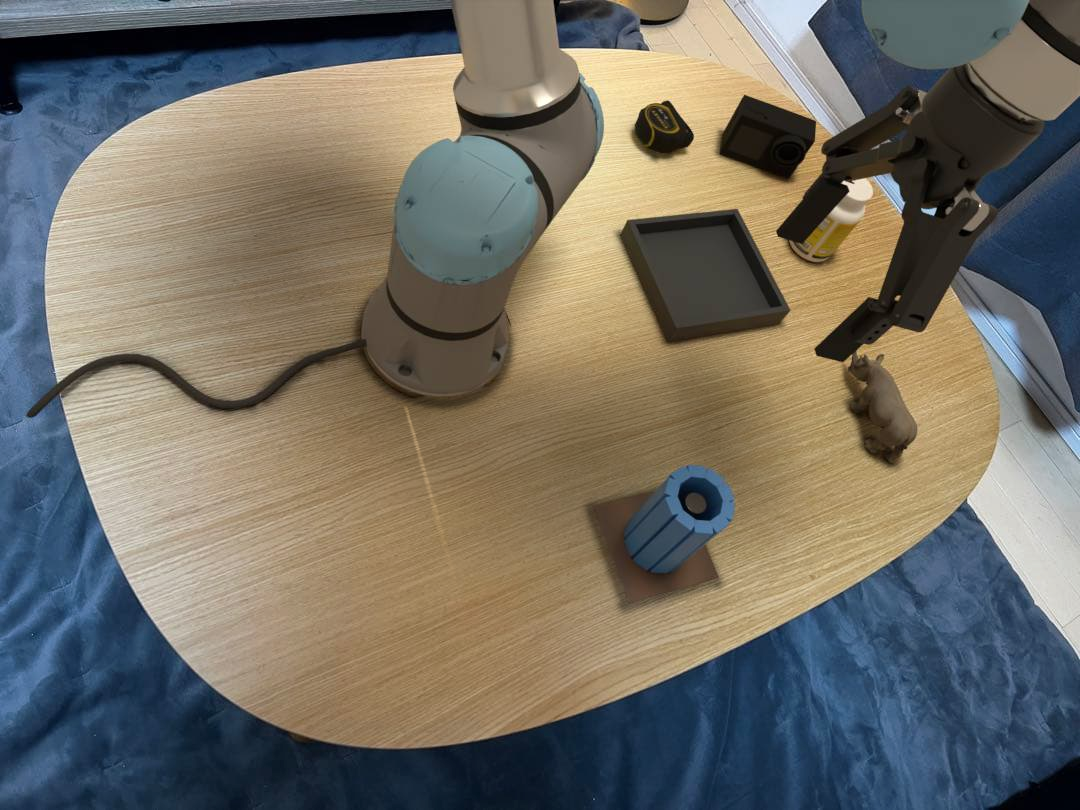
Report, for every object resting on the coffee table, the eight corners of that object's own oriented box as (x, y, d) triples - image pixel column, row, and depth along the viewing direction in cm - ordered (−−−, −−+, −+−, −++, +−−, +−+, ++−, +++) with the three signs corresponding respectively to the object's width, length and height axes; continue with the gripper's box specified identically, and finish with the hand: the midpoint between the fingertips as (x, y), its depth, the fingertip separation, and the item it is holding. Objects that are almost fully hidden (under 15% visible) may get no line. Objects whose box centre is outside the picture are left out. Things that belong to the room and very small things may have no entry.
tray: (667, 342, 97) (676, 328, 94) (619, 234, 103) (627, 219, 100) (779, 323, 102) (790, 310, 100) (727, 223, 108) (737, 208, 106)
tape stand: (625, 606, 80) (667, 569, 71) (589, 509, 84) (625, 463, 75) (714, 580, 84) (766, 542, 74) (676, 489, 88) (721, 442, 78)
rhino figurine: (857, 359, 102) (886, 332, 97) (901, 463, 96) (934, 439, 91) (828, 361, 101) (856, 334, 96) (871, 466, 95) (903, 442, 90)
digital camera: (717, 159, 114) (740, 120, 108) (721, 133, 117) (744, 93, 111) (788, 185, 115) (815, 147, 109) (791, 158, 118) (816, 120, 112)
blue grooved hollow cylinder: (639, 581, 80) (683, 541, 71) (615, 517, 83) (654, 471, 74) (696, 565, 83) (746, 525, 73) (671, 504, 85) (716, 457, 76)
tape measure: (688, 153, 113) (700, 132, 110) (647, 163, 110) (658, 142, 107) (662, 117, 115) (673, 95, 112) (621, 125, 112) (631, 103, 109)
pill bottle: (833, 238, 112) (882, 179, 102) (827, 271, 108) (876, 213, 99) (791, 219, 112) (835, 158, 102) (783, 251, 108) (828, 191, 99)
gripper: (1128, 233, 51) (885, 421, 67) (978, 6, 65) (806, 205, 81) (1041, 200, 48) (808, 404, 64) (904, -28, 63) (741, 184, 78)
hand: (807, 293), depth 73 cm, fingers open, 13 cm apart
